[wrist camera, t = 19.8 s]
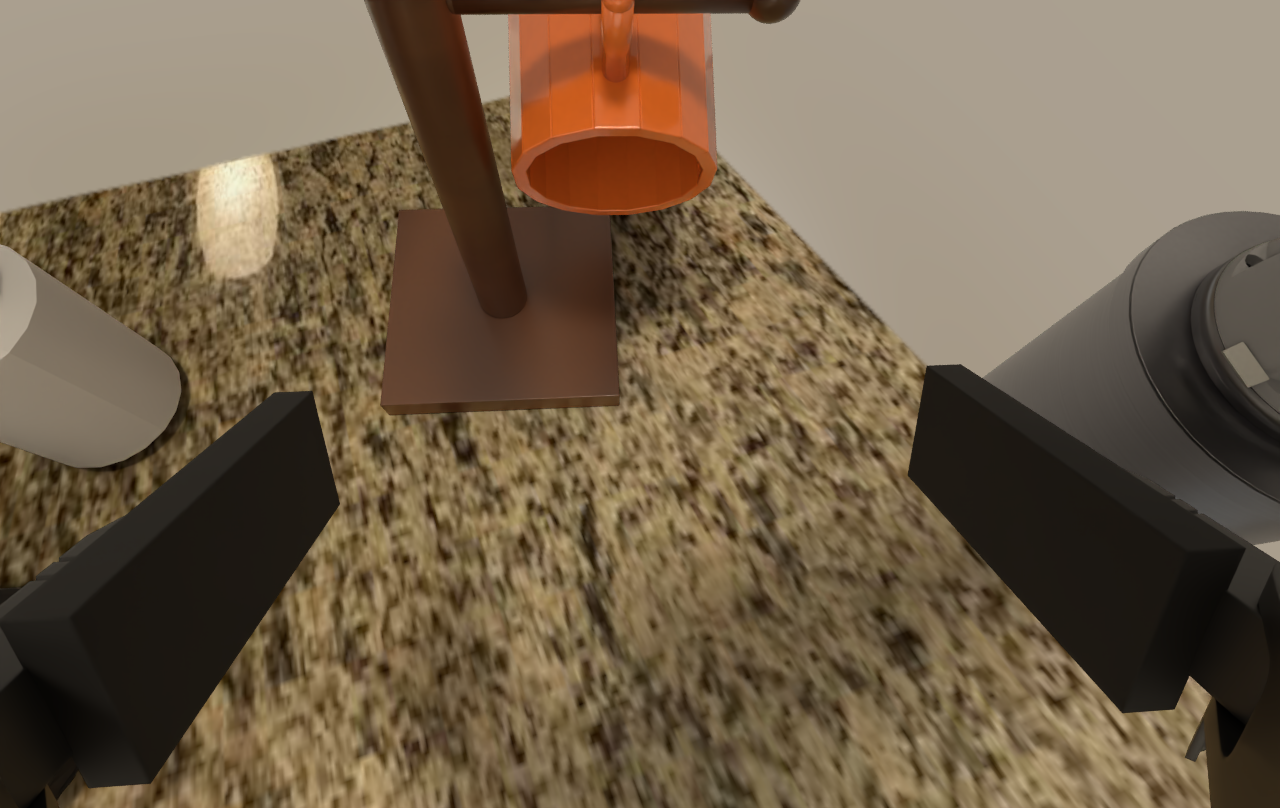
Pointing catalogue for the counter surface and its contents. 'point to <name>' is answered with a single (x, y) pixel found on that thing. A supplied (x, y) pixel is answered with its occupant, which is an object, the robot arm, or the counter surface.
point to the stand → (495, 238)
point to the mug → (612, 108)
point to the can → (75, 374)
